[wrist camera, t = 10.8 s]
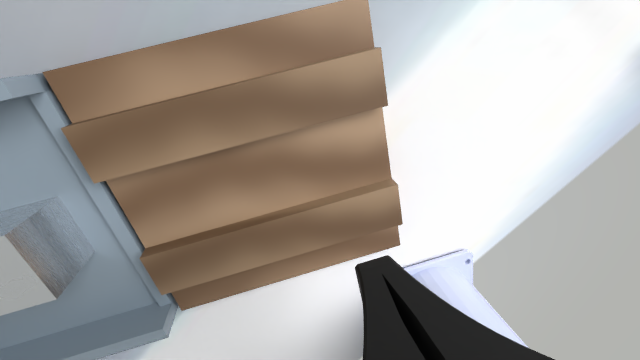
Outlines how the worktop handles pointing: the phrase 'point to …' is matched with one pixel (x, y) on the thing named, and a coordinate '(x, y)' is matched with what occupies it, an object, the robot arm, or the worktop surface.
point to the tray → (97, 225)
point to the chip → (38, 253)
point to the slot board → (242, 149)
